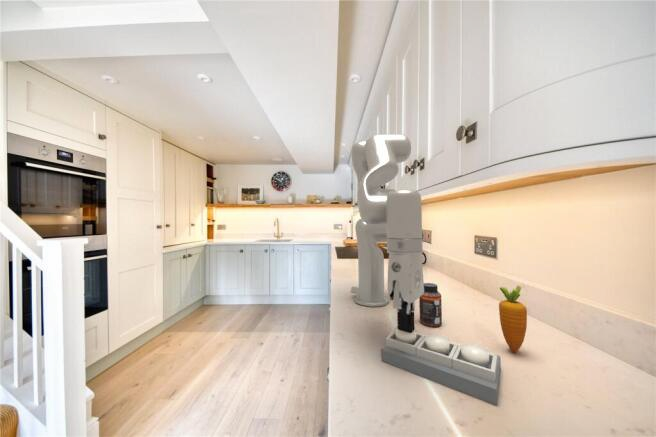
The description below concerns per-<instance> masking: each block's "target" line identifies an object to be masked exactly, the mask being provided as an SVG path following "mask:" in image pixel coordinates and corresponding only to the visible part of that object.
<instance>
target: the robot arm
mask: <svg viewBox="0 0 656 437" xmlns="http://www.w3.org/2000/svg"><path fill="white" fill-rule="evenodd" d="M350 153H351V155H350V156H351V162H352V167H353V169H354V170H353V171H355V172H354V173H355V175H356V178H357V179H356V180H357V193H356V194H357V195H356V196H357V205H358V211H359V216H360V218H359V219H358V220H357V221H356V223H355V227H354V229H355V230H354V231H355V237H356V242H357V244H356V245H357V259H358V264H357V265H358V266H357V268H358V269H357V270H358V271H357V272H358V273H357V274H358V287H357V286H351V287H350V293H351V294H355V295H356V296H355V297H354V302H355V303H357V305H360V306H364V307H374V308H375V307H376V308H377V307H383V306H387V305H388V304H389V303H390V302H389V300H390V301H392V307H393V309H396V314H397V321H396V322H397V326H398V329H399V330H401V331H405V332H408V333H412V332H413V331H414V330H416V329H415V328H416V327H415V312H414V311H415V308H416V306H415V305H416V303H415V301H417V300H419V297H420V296H422V295H423V293H424V283H425V282H424V270H423V269H424V268H423V260H422V254H423V219H422V218H423V217H422V215H423V214H422V213H423V212H422V210H423V209H422V195H421V193H420V192H419V191H416V190H413V189H411V190H410V189H401V190H396V189H393V188H381V186H383V185H385V184H389V183H390V182H392V181H393V180H394V179H395V178H396V177H397V176H398V174H399V163H403V162H406V161H407V160H408V159H409V157H411V153H412V143H411V140H410V138H409V137H408V136H407V135H405V134H402V133H400V134H399V133H395V134H394V133H389V134H388V133H386V134H385V133H379V134H374V135H371V136H369V137H368V138H367V139H366V140H360V141H357V142H355V143H354V144H353V145H352V147H351V152H350ZM379 243H386V253H387V254H388V264H387V296H388V297H387V296H386V295H385V261H384V260H385V258H384V257H385V256H384V253H383V250H382V249H381V248H380V247H379V246H378V244H379Z"/></svg>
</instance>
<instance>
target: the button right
mask: <svg viewBox="0 0 656 437" xmlns="http://www.w3.org/2000/svg"><path fill="white" fill-rule="evenodd" d="M460 345H461V358H462V359H463V360H464V361H466V362H469V363H472V364H475V365H478V366H482V367H487V366H489V353H490V351H489V350H488V349H487V348H486V347H485V346H483V345H481V344H477V343H472V342H464V343H462V344H460Z"/></svg>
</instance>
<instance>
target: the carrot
mask: <svg viewBox="0 0 656 437" xmlns="http://www.w3.org/2000/svg"><path fill="white" fill-rule="evenodd" d="M521 289H522V287H521V286H520V285H516V287H515V288H513V289H512V291H510V292H509V290H508V288H507V287H505V286H504V287H503V286H500V287H499V290H500V291H501V293H502V294H503V296H504V297H505V300H501V301H499V303H498V309H499V310H498V311H499V312H498V314H499V324H500V326H501V331H502V334H503V339H504V340H505V342H506V344H507V347H508V348H509V350H510V351H511V353H513V354H515V353H517V352H518V351H519V350H520V348H521V347H522V345H523V343H524V341H525V337H526V333H527V332H526V331H527V327H528V326H527V324H528V310H527V307H526V305H524V303H522V302H521V301H518V299H519V297H520V296H521V294H520V292H521Z"/></svg>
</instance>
